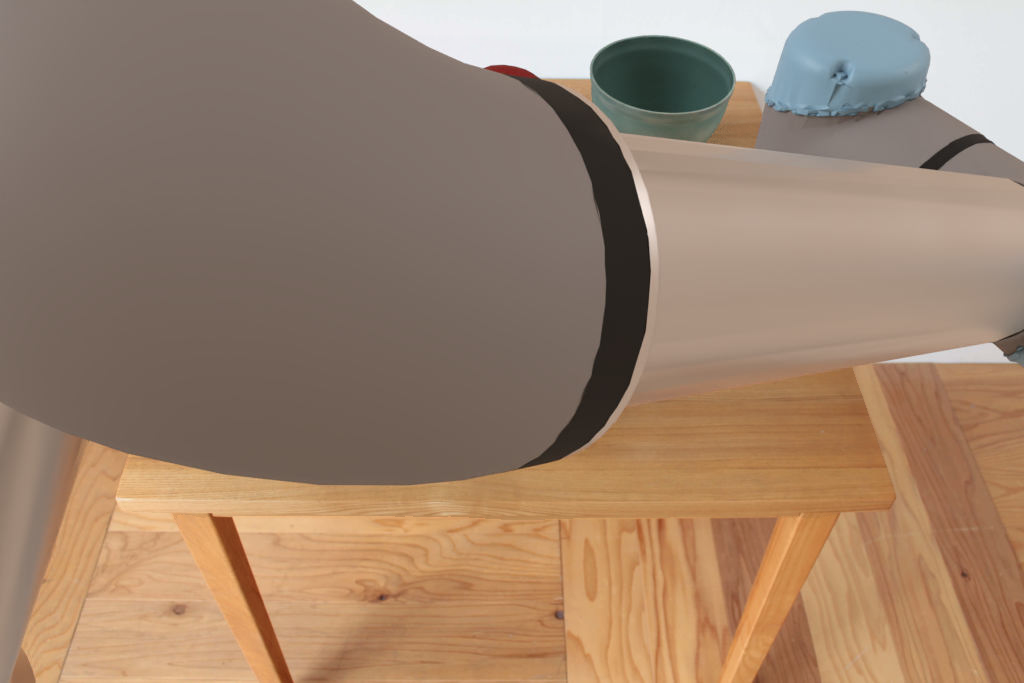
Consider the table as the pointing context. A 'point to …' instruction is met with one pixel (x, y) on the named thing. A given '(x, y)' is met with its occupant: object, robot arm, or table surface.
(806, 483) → the table surface
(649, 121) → the flower pot
